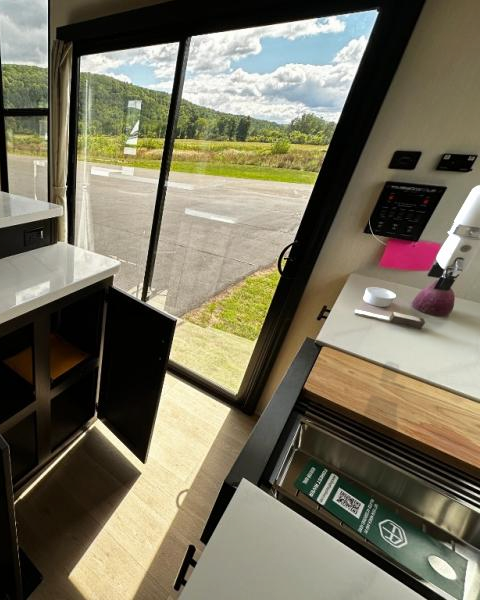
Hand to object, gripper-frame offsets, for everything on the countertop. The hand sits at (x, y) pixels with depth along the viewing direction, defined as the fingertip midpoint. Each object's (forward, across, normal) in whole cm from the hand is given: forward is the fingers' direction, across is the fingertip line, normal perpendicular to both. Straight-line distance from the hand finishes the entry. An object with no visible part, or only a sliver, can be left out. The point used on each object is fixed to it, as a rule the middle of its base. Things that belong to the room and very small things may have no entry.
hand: (437, 283), depth 100 cm
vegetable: (+18, +19, -8) cm, 27 cm away
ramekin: (+18, +15, +8) cm, 24 cm away
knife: (+18, +2, +6) cm, 19 cm away
